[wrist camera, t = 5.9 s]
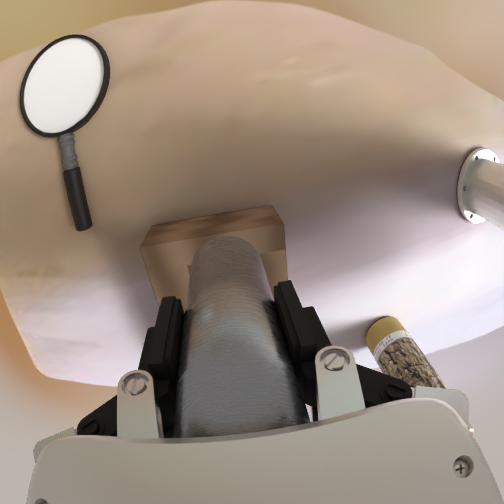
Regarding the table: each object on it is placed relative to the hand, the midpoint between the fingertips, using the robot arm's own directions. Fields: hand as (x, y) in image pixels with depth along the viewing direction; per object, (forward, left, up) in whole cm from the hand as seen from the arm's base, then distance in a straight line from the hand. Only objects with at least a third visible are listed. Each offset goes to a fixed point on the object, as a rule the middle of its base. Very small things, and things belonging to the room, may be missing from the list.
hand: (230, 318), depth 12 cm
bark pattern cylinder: (-22, +26, -21) cm, 41 cm away
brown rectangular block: (+2, +12, -21) cm, 24 cm away
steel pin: (0, 0, -4) cm, 4 cm away
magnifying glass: (+17, -11, -22) cm, 30 cm away
